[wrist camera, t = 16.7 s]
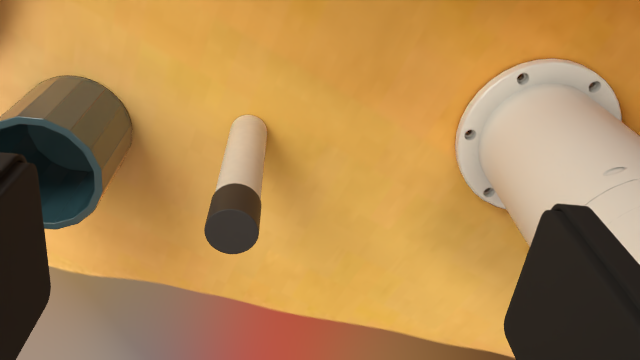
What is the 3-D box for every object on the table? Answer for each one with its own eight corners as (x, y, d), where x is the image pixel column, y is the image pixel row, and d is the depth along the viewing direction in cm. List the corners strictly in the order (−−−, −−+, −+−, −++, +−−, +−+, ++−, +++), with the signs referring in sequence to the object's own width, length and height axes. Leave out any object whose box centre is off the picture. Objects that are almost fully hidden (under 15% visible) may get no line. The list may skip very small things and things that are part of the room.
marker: (270, 115, 44) (260, 211, 32) (266, 150, 46) (256, 256, 33) (230, 111, 44) (205, 206, 32) (228, 147, 45) (203, 252, 33)
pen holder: (131, 81, 42) (98, 124, 35) (133, 177, 46) (105, 233, 39) (17, 69, 42) (-39, 110, 35) (29, 168, 45) (-20, 223, 38)
